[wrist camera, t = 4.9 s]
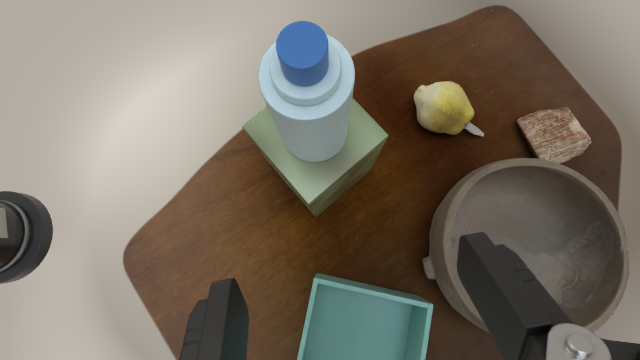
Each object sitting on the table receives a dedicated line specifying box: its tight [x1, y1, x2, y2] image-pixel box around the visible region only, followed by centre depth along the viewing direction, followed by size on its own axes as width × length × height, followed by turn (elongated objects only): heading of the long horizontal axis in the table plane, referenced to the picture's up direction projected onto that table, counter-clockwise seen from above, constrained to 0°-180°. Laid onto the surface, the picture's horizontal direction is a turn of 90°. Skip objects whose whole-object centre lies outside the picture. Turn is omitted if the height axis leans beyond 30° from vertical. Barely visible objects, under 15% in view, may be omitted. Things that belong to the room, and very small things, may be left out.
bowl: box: [422, 158, 629, 333], centre depth 36 cm, size 17×18×10 cm
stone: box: [517, 107, 591, 164], centre depth 41 cm, size 7×6×5 cm
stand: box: [242, 98, 388, 217], centre depth 37 cm, size 9×9×14 cm
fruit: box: [414, 81, 484, 136], centre depth 42 cm, size 6×6×10 cm
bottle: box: [258, 21, 355, 162], centre depth 23 cm, size 6×6×13 cm
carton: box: [297, 273, 433, 360], centre depth 36 cm, size 12×12×6 cm
